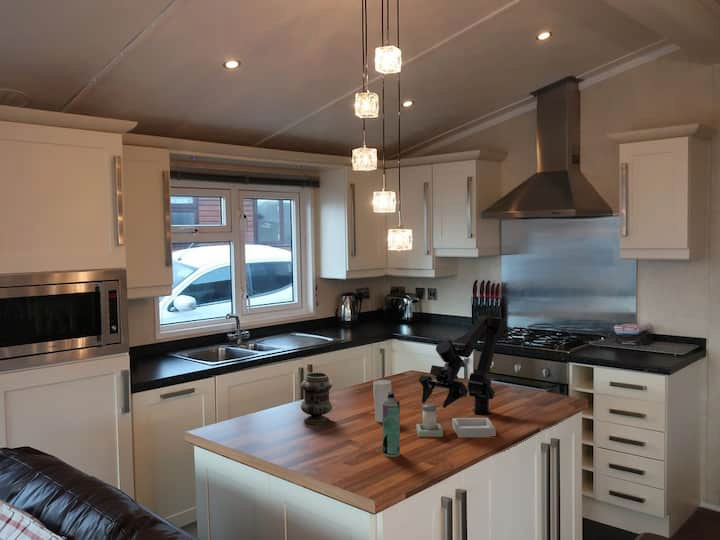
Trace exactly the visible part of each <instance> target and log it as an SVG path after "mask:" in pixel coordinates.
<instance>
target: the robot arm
mask: <svg viewBox="0 0 720 540" xmlns="http://www.w3.org/2000/svg"><path fill="white" fill-rule="evenodd" d="M506 328H507V322H506V321H505V319H504V318H503V317H497V316H490V315H478V316H477V317H476V320H475V321H474V323H473V324H472V325H471V326H470V328H469V329H468V330H467V331H466V333H465V334H463V335H462V336H460V337H457V338H456V339H454V340H453V341H451V339H449V338H445V339H444V340H443V341H441V342H439V343H438V344H436V347H435V351H436V353H437V354H438V356H439V357H440V358H441V360H442V362H444V366H440V365H433V364H432V365H431V367H430V371H429V374H430V375H433V378H434V379H435V380H434V379H433V378H432V377H431V376H430V375H424V374H421V375H420V376H419V378H418V382H419V384H420V385H421V386H422V397H421V403H422V404H426V401H427V400H428V399H429V397H430V396H431V395H432V394H433V392H434V391H433V390H435V388H436V387H437V388H442V389H446V390H448V394H447V396H446V398H445V400H444V402H443V403H442V408H443V409H446V408H447V407H448V406H449V405H451V404H452V403H454V402H455V401H457V400H459V399H463V398H466V397H467V395H468V394H469V397H473V399H474V400H473V402H474V407H473V408H472V409H471V410H472V413H474V414H475V415H492V411H491V410H490V400H493V399H494V397H495V391H494V388H493V387H492V386H491V385H492V379H491V377H490V372H491V371H490V370H491V367H492V364H493V359H494V355H495V352H496V347H497V344H498V340H499V339H500V338H501V337H502V336H503V335H504V332H505V330H506ZM483 333H484V341H483V345H482V347H481V353H480V356H479V360H478V363H477V367H476V370H475V371H474V372H471V373H470V374H469V379H468V381H467V387H466V385H465V384H464V383H463V381H458V378H459V377H458V375H459V373H460V370H461V368H466V363H465V360H464V359H462V358H469V357H471V355H472V353H473V352H474V349H475V347H474V345H475V344H476V342H478V340H479V339H480V337H481V336H482V335H483Z"/></svg>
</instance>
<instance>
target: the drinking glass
mask: <svg viewBox="0 0 720 540" xmlns="http://www.w3.org/2000/svg"><path fill="white" fill-rule="evenodd" d="M372 391H373V403H374V414H375V415H374V416H375V418H374V419H375V421H376V422H377V423H380V424H381V423H382V424H383V400H384V399H386V398H387V396H388V393H391V392H392V382H391V380H386V379H379V380H374V381H373V388H372Z"/></svg>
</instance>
